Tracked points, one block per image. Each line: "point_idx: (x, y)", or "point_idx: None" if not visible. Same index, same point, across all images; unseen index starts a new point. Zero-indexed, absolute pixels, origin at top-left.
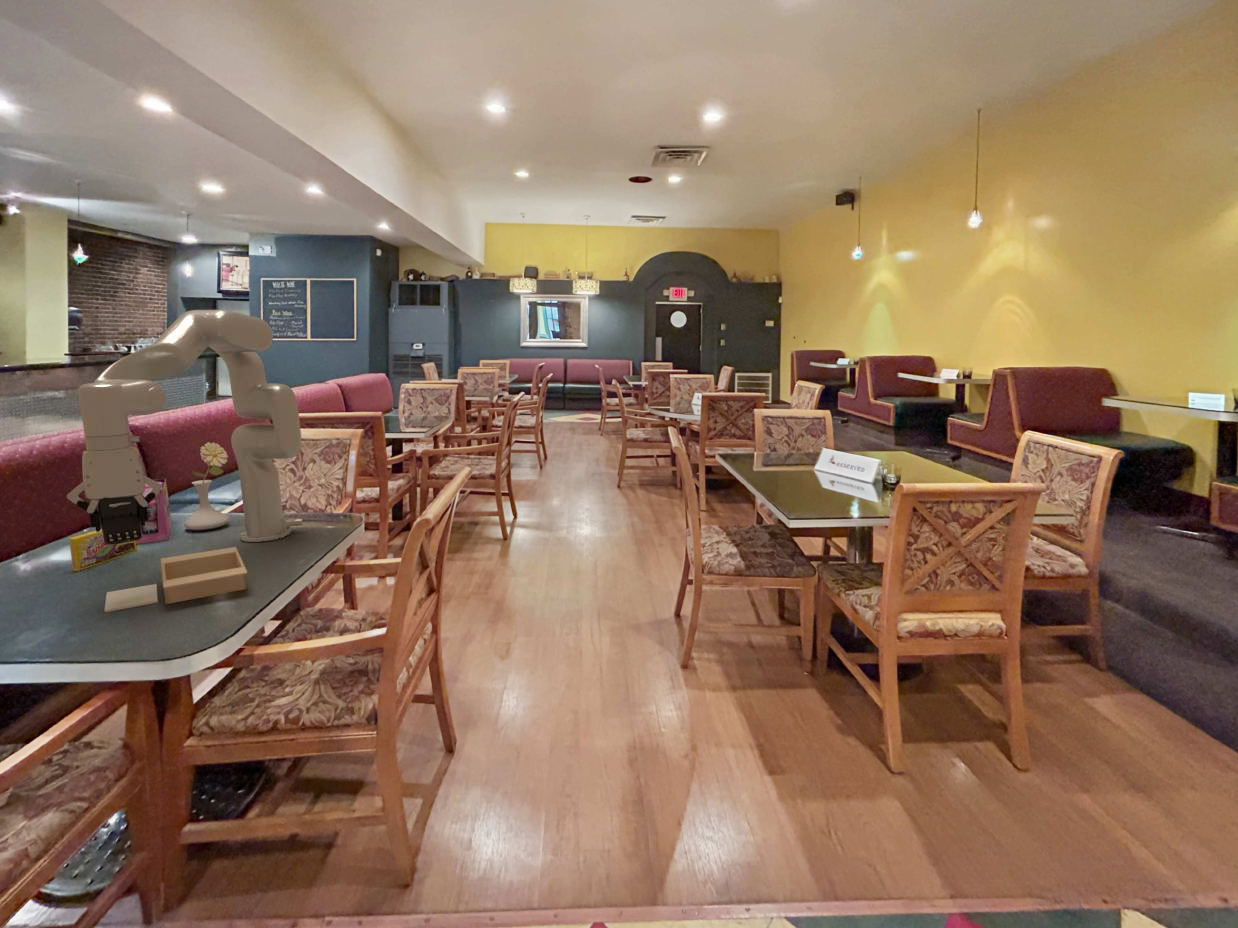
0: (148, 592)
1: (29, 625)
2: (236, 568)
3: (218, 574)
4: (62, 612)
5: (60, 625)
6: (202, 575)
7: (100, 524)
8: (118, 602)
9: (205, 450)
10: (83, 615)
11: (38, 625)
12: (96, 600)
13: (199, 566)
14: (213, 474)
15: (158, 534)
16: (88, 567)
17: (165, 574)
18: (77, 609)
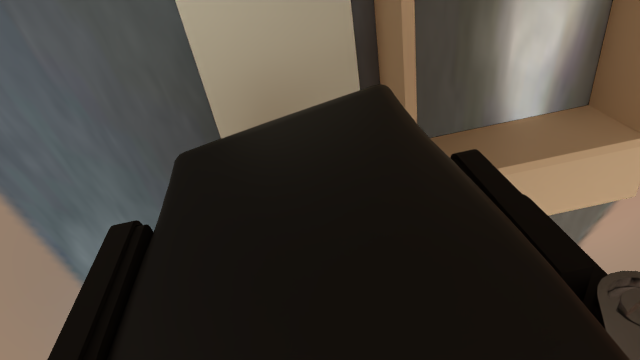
0: (327, 37)
1: (44, 187)
2: (628, 145)
3: (563, 188)
4: (84, 109)
5: (143, 214)
6: (522, 180)
7: (140, 245)
8: (250, 108)
9: None
10: (173, 161)
11: (74, 195)
12: (149, 19)
13: None
14: None
15: None
16: None
17: (416, 121)
18: (124, 98)
